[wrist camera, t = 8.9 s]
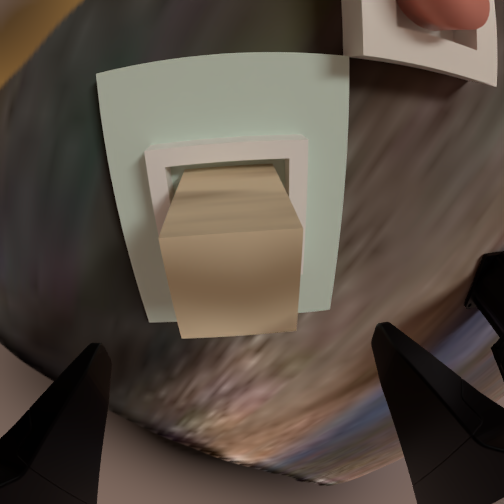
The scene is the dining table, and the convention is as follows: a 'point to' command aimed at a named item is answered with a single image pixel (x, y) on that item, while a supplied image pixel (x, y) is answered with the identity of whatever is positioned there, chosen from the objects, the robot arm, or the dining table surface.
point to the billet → (232, 252)
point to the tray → (228, 149)
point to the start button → (446, 13)
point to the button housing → (419, 41)
